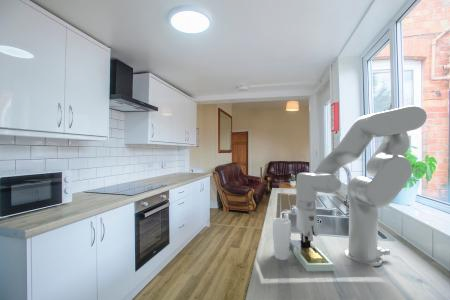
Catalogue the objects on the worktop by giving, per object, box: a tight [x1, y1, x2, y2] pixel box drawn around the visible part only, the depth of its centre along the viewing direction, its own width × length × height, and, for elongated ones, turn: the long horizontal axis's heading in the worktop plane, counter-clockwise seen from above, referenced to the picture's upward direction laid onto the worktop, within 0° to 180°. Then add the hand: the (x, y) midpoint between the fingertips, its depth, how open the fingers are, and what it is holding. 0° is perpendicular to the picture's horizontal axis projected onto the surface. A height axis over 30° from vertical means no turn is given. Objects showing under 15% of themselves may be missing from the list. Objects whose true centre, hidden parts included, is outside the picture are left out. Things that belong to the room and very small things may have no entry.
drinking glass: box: [272, 217, 292, 261], centre depth 86 cm, size 7×7×15 cm
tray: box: [293, 246, 335, 272], centre depth 83 cm, size 9×13×3 cm
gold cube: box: [301, 248, 315, 259], centre depth 85 cm, size 4×4×4 cm
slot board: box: [289, 238, 316, 253], centre depth 95 cm, size 8×12×3 cm
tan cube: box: [306, 253, 323, 263], centre depth 81 cm, size 4×4×4 cm
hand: (305, 250), depth 89 cm, fingers closed
